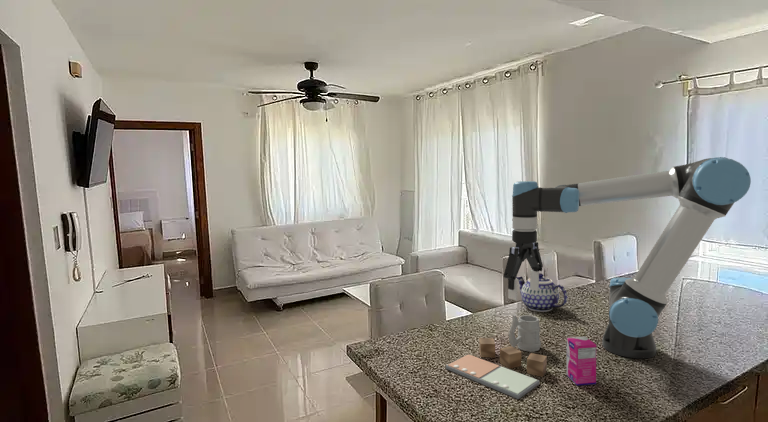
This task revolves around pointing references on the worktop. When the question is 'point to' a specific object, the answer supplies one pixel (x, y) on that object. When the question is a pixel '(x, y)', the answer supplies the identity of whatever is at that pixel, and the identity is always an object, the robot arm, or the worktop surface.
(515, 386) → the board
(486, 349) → the walnut block
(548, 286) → the teapot
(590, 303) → the worktop surface
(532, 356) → the walnut block
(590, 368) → the supplement box
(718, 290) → the worktop surface
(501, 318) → the worktop surface
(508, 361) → the walnut block
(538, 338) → the mug
